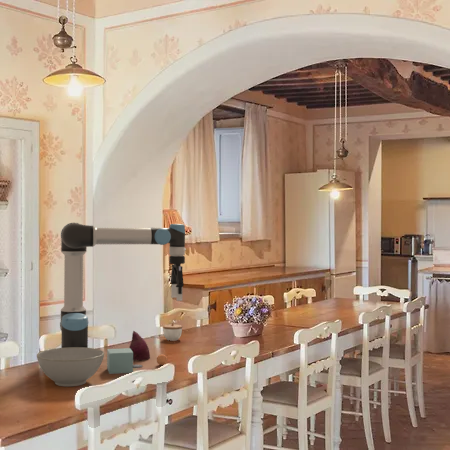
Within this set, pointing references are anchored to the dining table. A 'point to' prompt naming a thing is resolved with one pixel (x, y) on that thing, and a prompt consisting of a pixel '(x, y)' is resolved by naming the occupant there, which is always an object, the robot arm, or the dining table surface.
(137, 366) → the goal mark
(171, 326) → the lidded jar
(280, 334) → the dining table surface
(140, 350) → the vegetable
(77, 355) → the decorative bowl
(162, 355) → the ball
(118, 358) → the rounded blue-grey cube
